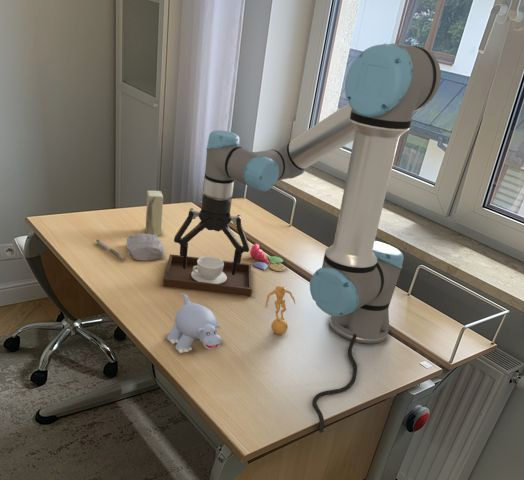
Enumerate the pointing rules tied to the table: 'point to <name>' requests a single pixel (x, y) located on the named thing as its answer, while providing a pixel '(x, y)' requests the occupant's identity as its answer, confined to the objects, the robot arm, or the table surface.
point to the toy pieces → (265, 259)
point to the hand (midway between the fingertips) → (209, 269)
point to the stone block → (144, 247)
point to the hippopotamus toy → (194, 327)
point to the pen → (109, 249)
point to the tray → (184, 280)
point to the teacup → (209, 270)
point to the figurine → (279, 324)
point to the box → (154, 212)
